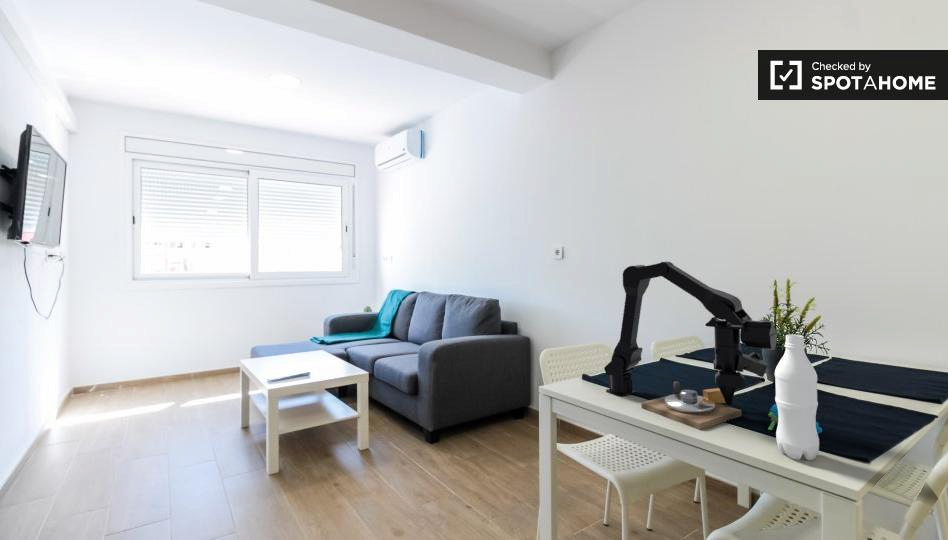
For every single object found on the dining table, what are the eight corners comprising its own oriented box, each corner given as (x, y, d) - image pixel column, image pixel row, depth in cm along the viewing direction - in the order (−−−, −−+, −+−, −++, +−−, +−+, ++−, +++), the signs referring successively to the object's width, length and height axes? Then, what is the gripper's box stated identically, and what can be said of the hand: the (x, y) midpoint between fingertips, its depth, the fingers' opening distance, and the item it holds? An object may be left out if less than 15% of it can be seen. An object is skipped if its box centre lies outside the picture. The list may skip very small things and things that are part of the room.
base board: (641, 407, 123) (640, 388, 123) (681, 397, 130) (680, 378, 129) (699, 429, 107) (698, 407, 106) (741, 416, 113) (740, 395, 113)
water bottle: (821, 466, 87) (818, 340, 86) (777, 458, 90) (774, 338, 90) (817, 451, 93) (814, 333, 92) (775, 445, 97) (772, 331, 96)
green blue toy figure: (834, 434, 97) (803, 405, 96) (822, 457, 95) (791, 428, 94) (787, 423, 107) (759, 397, 106) (776, 443, 106) (748, 417, 105)
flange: (684, 416, 111) (683, 401, 111) (655, 401, 123) (655, 387, 123) (742, 408, 114) (742, 394, 114) (709, 394, 126) (709, 381, 126)
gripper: (770, 354, 101) (771, 421, 102) (760, 339, 118) (761, 396, 119) (714, 351, 107) (716, 415, 107) (712, 337, 123) (714, 392, 124)
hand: (729, 404), depth 114 cm, fingers closed
